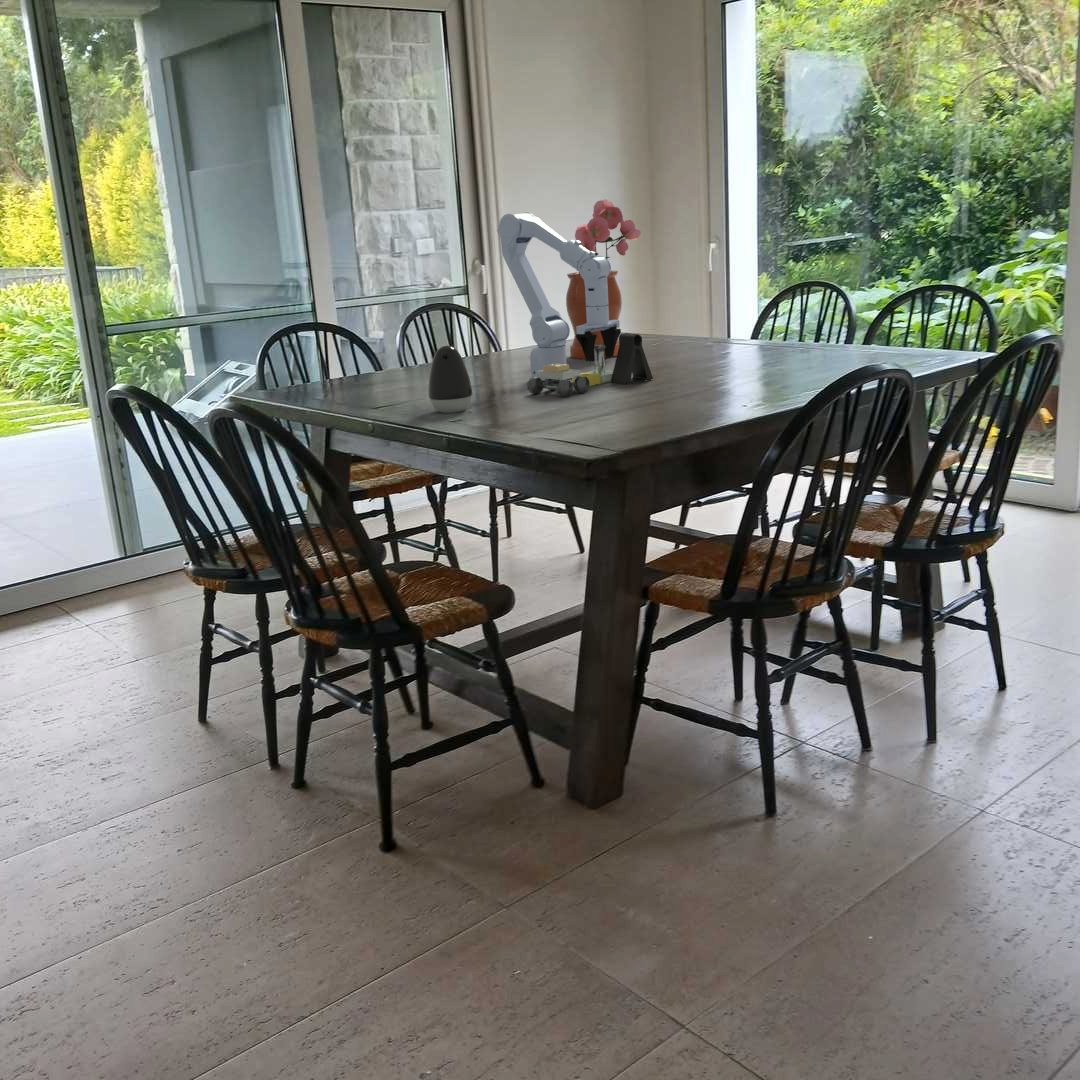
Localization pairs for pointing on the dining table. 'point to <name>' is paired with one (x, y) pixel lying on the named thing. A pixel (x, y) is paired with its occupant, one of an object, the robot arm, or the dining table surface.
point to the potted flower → (576, 298)
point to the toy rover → (558, 380)
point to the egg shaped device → (449, 381)
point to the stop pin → (599, 359)
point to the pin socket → (591, 378)
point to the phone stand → (630, 360)
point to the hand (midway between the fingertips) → (599, 359)
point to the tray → (604, 376)
